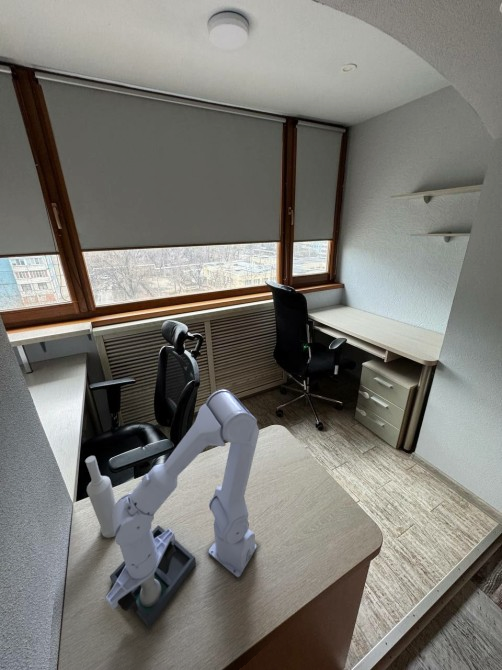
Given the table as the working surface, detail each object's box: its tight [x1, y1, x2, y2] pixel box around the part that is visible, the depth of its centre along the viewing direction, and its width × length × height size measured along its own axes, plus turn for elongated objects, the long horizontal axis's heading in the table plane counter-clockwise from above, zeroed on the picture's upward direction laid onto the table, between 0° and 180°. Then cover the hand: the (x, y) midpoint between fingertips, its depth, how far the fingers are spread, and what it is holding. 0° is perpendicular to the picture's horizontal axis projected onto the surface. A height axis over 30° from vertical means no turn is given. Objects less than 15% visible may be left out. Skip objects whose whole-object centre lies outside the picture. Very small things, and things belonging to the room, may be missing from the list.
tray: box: [109, 525, 197, 629], centre depth 62 cm, size 13×13×3 cm
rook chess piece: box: [140, 574, 162, 607], centre depth 57 cm, size 4×4×8 cm
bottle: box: [84, 455, 117, 539], centre depth 67 cm, size 5×5×25 cm
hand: (149, 587), depth 57 cm, fingers open, 7 cm apart
